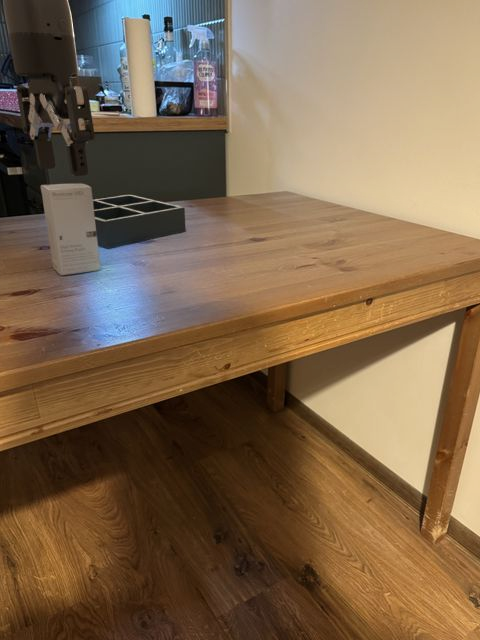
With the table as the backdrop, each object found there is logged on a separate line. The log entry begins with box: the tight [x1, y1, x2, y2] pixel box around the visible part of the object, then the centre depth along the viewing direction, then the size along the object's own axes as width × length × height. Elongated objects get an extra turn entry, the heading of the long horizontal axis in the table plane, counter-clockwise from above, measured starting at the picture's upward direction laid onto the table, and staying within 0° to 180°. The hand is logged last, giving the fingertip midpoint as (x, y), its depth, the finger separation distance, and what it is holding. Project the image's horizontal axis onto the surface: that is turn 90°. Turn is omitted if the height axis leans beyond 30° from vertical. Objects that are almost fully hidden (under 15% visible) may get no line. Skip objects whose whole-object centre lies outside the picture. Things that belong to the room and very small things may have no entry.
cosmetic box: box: [40, 182, 101, 276], centre depth 72 cm, size 6×4×12 cm
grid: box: [93, 194, 187, 249], centre depth 94 cm, size 17×17×5 cm
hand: (63, 171), depth 68 cm, fingers open, 8 cm apart
